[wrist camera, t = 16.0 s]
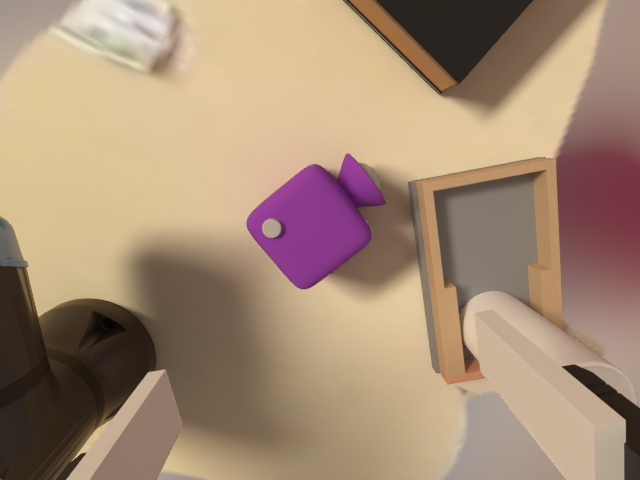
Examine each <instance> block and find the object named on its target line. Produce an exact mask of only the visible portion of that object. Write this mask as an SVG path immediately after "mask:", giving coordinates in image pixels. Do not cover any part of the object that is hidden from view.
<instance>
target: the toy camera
mask: <svg viewBox="0 0 640 480" xmlns="http://www.w3.org/2000/svg"><path fill="white" fill-rule="evenodd" d="M384 204H386V201H385V199H384V197H383V195H382V194H381V192H380V180H379V177H378V175H377V174H376V172H375V171H374V170H373V169H372V168H371V167H370V166H368V165H366V164H363V163H358V162H357V161H356V160H355V159H354V158H353V157H352V156H351V155H350V154H346V155H345V158H344V160H343V164H342V167H341V171H340V174H339V177H338V180H337V181H335V180H334V179H333V178H332V177H331V175H330V174H329V173H328V172H327V171H326V170H325V169H324V168H323V167H322V166H320V165H317V164H313V165H310V166H308V167H306V168H304V169H303V170H302V171H300V172H299V173H298V174H297V175H295V176H294V177H293V178H292V179H290V180H289V181H288V182H287V183H285V184H284V185H283V186H282V187H280V188H279V189H278V190H277V191H276V192H274V193H273V194H272V195H271V196H269V197H268V198H267V199H266V200H265V201H263V202H262V203H261V204H260V205H259V206H258V207H257V208H256V209H255V210H254V211H253V212H252V213H251V214H250V215H249V217H248V219H247V228H248V231H249V232H250V234H251V235H252V237H253V238H254V239H255V240H256V242H257V243H258V244H259V245H260V246H261V248H262V249H263V250H264V251H265V252H266V253H267V255H268V256H269V257H270V258H271V259H272V260H273V262H274V263H275V264H276V265H277V266H278V267H279V269H280V270H281V271H282V272H283V273H284V274H285V276H286V277H287V278H288V279H289V280H290V281H291V282H292V283H293V284H294V285H295V286H296V287H298V288H300V289H308V288H310V287H312V286H314V285H315V284H317V283H318V282H320V281H321V280H322V279H324V278H325V277H326V276H328V275H329V274H333V273H334V272H335V271H336V270H337V269H338V268H339V267H340V266H341V265H342V264H343V263H345V262H346V261H347V260H349V259H350V258H351V257H353V256H354V255H355V254H356V253H358V252H359V251H360V250H361V249H363V248H364V247H365V246H366V245H367V244H368V243H369V241H370V239H371V230H370V228H369V226H368V225H369V221H368V220H367V219H366V218H365V217H362V215H361V214H360V213H359V211H358V210H357V207H359V206H378V205H384Z"/></svg>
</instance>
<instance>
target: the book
mask: <svg viewBox="0 0 640 480" xmlns="http://www.w3.org/2000/svg"><path fill="white" fill-rule="evenodd" d="M344 1H345V2H346V3H347V4H348V5H349V6H350V7H351V8H352V9H353V10H354V11H355V12H356V13H357V14H358V15H359V16H360V17H361V18H362V19H363V20H364V21H365V22H366V23H367V24H368V25H369V26H370V27H371V28H372V29H373V30H374V31H375V32H376V33H377V34H378V35H379V36H380V37H381V38H382V39H383V40H384V41H385V42H386V43H387V44H388V45H389V46H390V47H391V48H392V49H393V50H394V51H395V52H396V53H397V54H398V55H399V56H401V57H402V58H403V59H404V60H405V61H406V62H407V63H408V64H409V65H410V66H411V67H412V68H413V69H414V70H415V71H416V72H417V73H418V74H419V75H420V76H421V77H422V78H423V79H424V80H425V81H426V82H427V83H428V84H429V85H430V86H431V87H432V88H433V89H434V90H435V91H436V92H437V93H438V94H441V93H442V92H443V90H444V89H446V88H448V87H450V86H452V85H454V84H457V85H458V84H460V83H461V82H462V80H463V79H464V78H465V77H466V76H467V75H468V74H469V72H470V71H471V70H472V69H473V68H474V67H475V66H476V64H477V63H478V62H479V61H480V60H481V59H482V58H483V57H484V55H485V54H486V53H487V52H488V51H489V50H490V49H491V47H492V46H493V45H494V44H495V43H496V42H497V41H498V40H499V38H500V37H501V36H502V35H503V34H504V33H505V32H506V30H507V29H508V28H509V27H510V26H511V25H512V24H513V22H514V21H515V20H516V19H517V18H518V17H519V16H520V15H521V13H522V12H523V11H524V10H525V9H526V8H527V7H528V5H529V4H530V3H531V2H532V1H533V0H344Z"/></svg>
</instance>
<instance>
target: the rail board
mask: <svg viewBox="0 0 640 480" xmlns="http://www.w3.org/2000/svg"><path fill="white" fill-rule="evenodd" d="M408 186H409V194H410V202H411V209H412V217H413V224H414V232H415V239H416V247H417V254H418V262H419V269H420V277H421V284H422V292H423V299H424V307H425V314H426V322H427V329H428V337H429V345H430V352H431V360H432V367H433V369H434V370H435V372H436V373H441V375H442V376H443V378H444V380H445V381H446V383H447V385H448V384H453V383H459V382H464V381H470V380H476V379H481V378H485V377H484V376H483V374H482V373H481V372H480V364H479V361H478V360H477V359H476V358H475V356H474V355H473V354H472V353H471V352H470V350H469V349H468V348H467V347H466V346H465V344H464V343H463V342H462V339H461V330H460V321H459V314H460V312H461V310H462V309H463V307H464V306H465V304H466V303H467V302H468V301H469V300H471V299H472V298H473V297H475V296H477V295H479V294H481V293H484V292H488V291H501V292H505V293H508V294H510V295H512V296H513V297H515V298H516V299H518V300H519V301H521V302H522V303H523V304H525V305H526V306H528V307H529V308H531V309H532V310H534V311H535V312H537V313H538V314H540V315H541V316H543V317H544V318H545V319H547V320H548V321H550V322H551V323H553V324H554V325H556V326H557V327H559V328H560V329H562V330H563V308H562V286H561V267H560V266H561V264H560V242H559V220H558V198H557V177H556V158H546V157H537V158H532V159H527V160H521V161H516V162H511V163H505V164H500V165H495V166H490V167H484V168H479V169H474V170H468V171H463V172H458V173H453V174H447V175H442V176H437V177H431V178H426V179H421V180H416V181H410V182H408ZM563 331H564V330H563Z"/></svg>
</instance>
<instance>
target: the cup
mask: <svg viewBox="0 0 640 480" xmlns="http://www.w3.org/2000/svg"><path fill="white" fill-rule="evenodd" d="M487 310H494V311H495V312H496V313H497V314H499V315H500V316H501V317H502V318H503V319H505V320H506V321H507V322H508V323H509V324H511V325H512V326H513V327H514V328H515V329H517V330H518V331H519V332H520V333H521V334H523V335H524V336H525V337H526V338H527V339H529V340H530V341H531V342H532V343H533V344H535V345H536V346H537V347H538V348H539V349H541V350H542V351H543V352H544V353H545V354H547V355H548V356H549V357H550V358H551V359H553V360H554V361H555V362H556V363H558V364H559V365H560V366H561V367H562V366H567V365H573V364H575V365H577V366H580V367H582V368H584V369H587V370H589V371H591V372H593V373H594V374H596V375H597V376H598V377H600V378H601V379H602V380H603V381H605V382H606V384H609V385H610V386H611V387H613V388H614V389H615V390H617V392H618V393H621V394H622V395H623V396H625V397H626V398H627V399H629V400H630V401H631V402H633V403H634V404H635V405H636V406H637V404H638V399H637V392H636V389H635V386H634V384H633V383H632V381H631V380H630V378H629V377H628V376H627V375H626V374H625V373H624V372H622V371H621V370H620V369H618V368H617V367H616V366H614V365H613V364H611V363H610V362H608V361H607V360H605V359H604V358H603V357H601V356H600V355H598V354H597V353H595V352H594V351H592V350H591V349H589V348H588V347H586V346H585V345H584V344H582V343H581V342H579V341H578V340H576V339H575V338H573V337H572V336H570V335H569V334H567V333H566V332H564V331H563V330H562V329H560V328H559V327H557V326H556V325H554V324H553V323H551V322H550V321H548V320H547V319H545V318H544V317H543V316H541V315H540V314H538V313H537V312H535V311H534V310H532V309H531V308H529V307H528V306H526V305H525V304H523V303H522V302H521V301H519V300H518V299H516V298H515V297H513V296H512V295H510V294H508V293H505V292H501V291H488V292H484V293H481V294H479V295H477V296H475V297H473V298H472V299H471V300H469V301H468V302H467V303H466V304H465V306H464V307H463V309H462V310H461V312H460V314H459V321H460V330H461V339H462V342H463V343H464V344H465V346H466V347H467V348H468V349H469V350H470V352H471V353H472V354H473V355H474V356H475V358H476V359H477V360H478V361H479V354H478V344H477V335H476V325H475V315H474V313H477V312H482V311H487Z"/></svg>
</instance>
